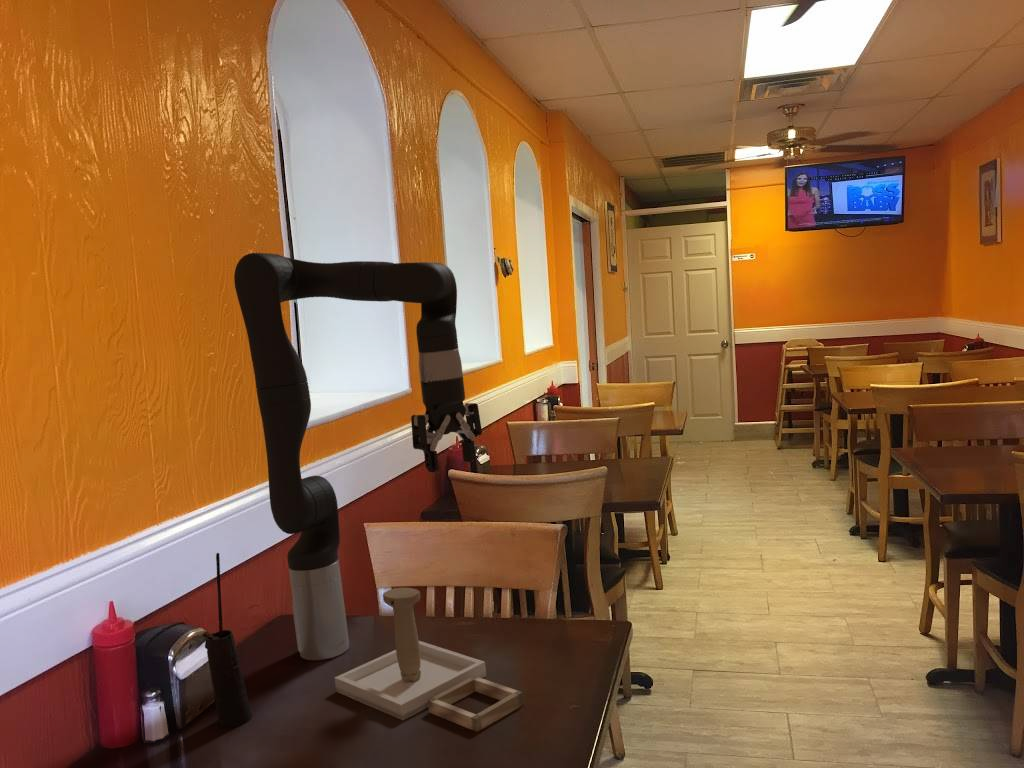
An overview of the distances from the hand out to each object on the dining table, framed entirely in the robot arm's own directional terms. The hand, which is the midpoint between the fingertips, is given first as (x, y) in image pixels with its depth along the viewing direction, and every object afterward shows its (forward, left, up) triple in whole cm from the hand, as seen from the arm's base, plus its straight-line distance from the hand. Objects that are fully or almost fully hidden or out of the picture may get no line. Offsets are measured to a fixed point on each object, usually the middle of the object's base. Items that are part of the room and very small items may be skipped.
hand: (451, 466), depth 154 cm
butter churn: (-15, -40, -34) cm, 55 cm away
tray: (+1, -15, -34) cm, 37 cm away
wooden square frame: (+17, -15, -34) cm, 41 cm away
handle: (+1, -15, -34) cm, 37 cm away
